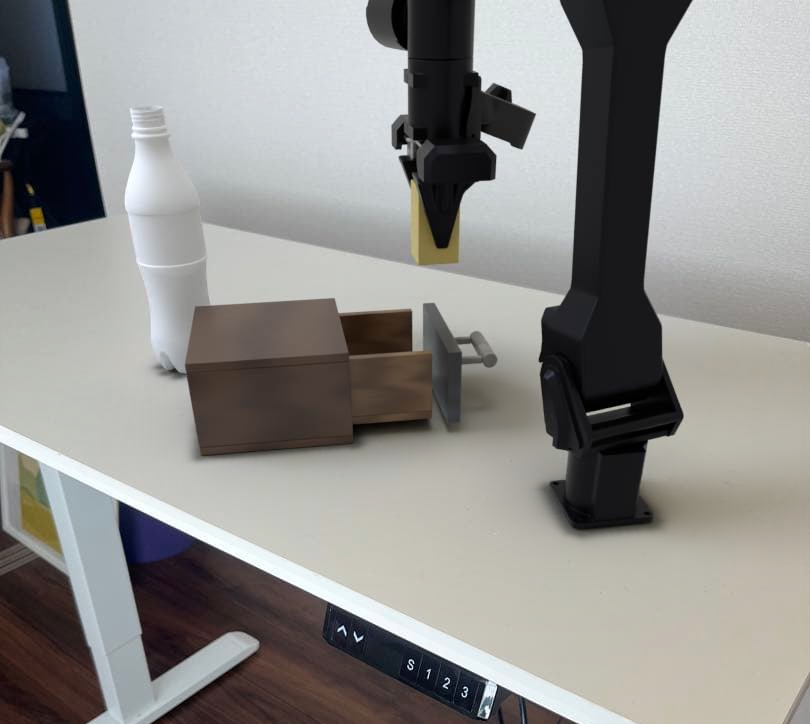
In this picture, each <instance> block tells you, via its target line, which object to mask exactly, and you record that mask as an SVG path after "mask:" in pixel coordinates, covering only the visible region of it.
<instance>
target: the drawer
mask: <svg viewBox="0 0 810 724" xmlns="http://www.w3.org/2000/svg"><path fill="white" fill-rule="evenodd" d="M338 313H339V317H340V321H341V325H342V329H343V333H344V337H345V341H346V344H347V348H348V352H349V368H350V386H351V405H352V423H353V425H363V424H377V423H386V422H387V423H389V422H401V421H403V422H404V421H415V420H427V419H432V418H433V393H434V396H435V398H436V400H437V402H438V405H439V407H440V409H441V413H442V414H443V416H444V419H445V421H446V423H447V424H459V423H461V411H462V410H461V407H462V405H461V404H462V374H463V373H462V372H463V366H464V365H476V364H477V365H478V364H483V366H484V367H485V368H489V369H490V368H494V367H495V366H496V365H497V363H498V356H497V355H496V354H495V352H494V350H493V349H492V346H490V344H489V342H488V341H487V339H486V338H485V336H484V335H483V333H482V332H481V331H479V330H475V331H473V332H471V333H470V334H469V335H468V336H453V333H452V331H451V330H450V328H449V326H448V325H447V323H446V321H445V319H444V317H443V316H442V314H441V312H440V310H439V308H438V307H437V305H436V303H435V302H427V303H426V302H424V303H422V350H413V348H414V347H413V346H414V345H413V342H414V341H413V310H412V308H399V309H398V308H397V309H396V308H395V309H383V310H367V311H350V312H338ZM459 345H471V347H472V348H473V349H474V352H475V353H476V354H477V355H467V356H463V351H462V349H461V347H460V346H459Z"/></svg>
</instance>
